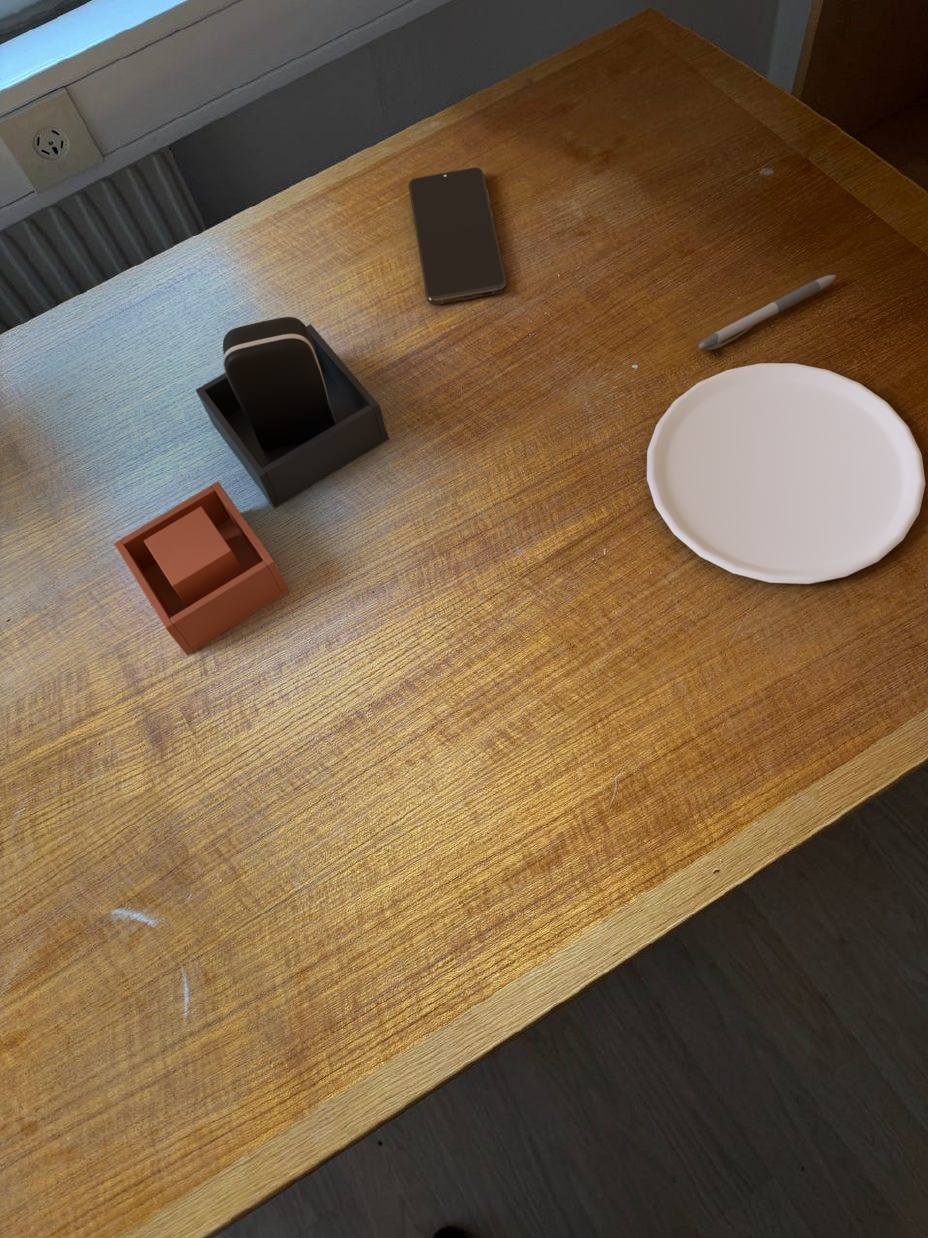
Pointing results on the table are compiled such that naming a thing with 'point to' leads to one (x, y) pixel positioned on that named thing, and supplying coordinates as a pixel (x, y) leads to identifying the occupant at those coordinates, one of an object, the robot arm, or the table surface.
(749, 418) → the plate
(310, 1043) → the table surface
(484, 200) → the smartphone
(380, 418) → the dark bin
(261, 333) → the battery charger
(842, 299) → the table surface
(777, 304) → the pen
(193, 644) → the clay bin
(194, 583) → the clay block
